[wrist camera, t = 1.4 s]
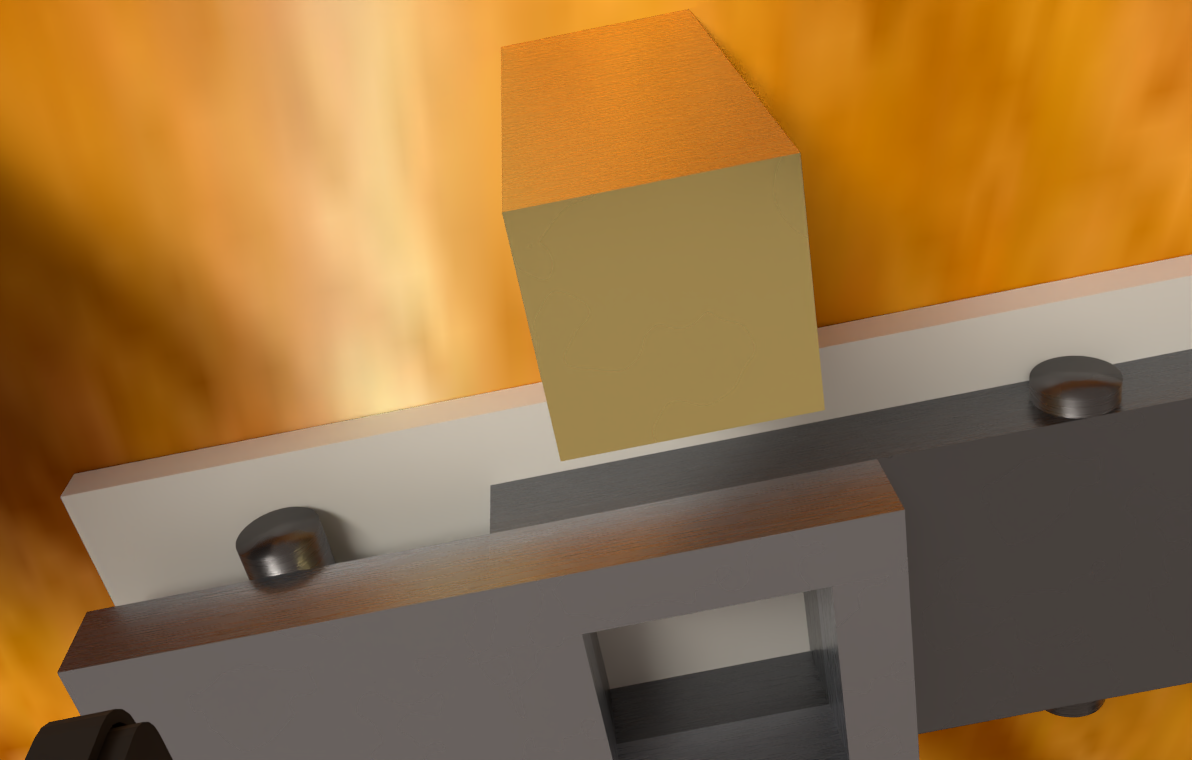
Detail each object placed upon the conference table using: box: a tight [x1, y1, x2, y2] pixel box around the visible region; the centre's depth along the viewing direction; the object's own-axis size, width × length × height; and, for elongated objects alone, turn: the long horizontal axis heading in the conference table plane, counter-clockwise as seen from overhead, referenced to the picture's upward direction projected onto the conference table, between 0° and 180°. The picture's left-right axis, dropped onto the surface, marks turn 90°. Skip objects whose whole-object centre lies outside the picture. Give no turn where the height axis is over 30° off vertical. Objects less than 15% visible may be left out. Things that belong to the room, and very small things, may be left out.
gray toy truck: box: [57, 349, 1192, 760], centre depth 28 cm, size 28×10×4 cm, turn 100°
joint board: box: [61, 255, 1192, 689], centre depth 30 cm, size 29×13×1 cm, turn 100°
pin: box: [501, 9, 825, 461], centre depth 20 cm, size 4×4×10 cm
